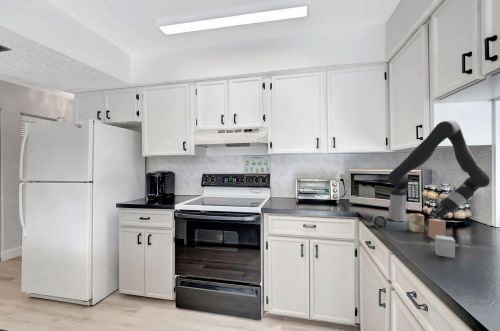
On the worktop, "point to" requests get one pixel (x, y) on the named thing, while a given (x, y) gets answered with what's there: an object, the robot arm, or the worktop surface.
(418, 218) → the key one
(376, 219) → the ceramic mug
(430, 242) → the keypad board
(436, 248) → the product box
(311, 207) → the worktop surface
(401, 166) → the robot arm
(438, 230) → the key two
